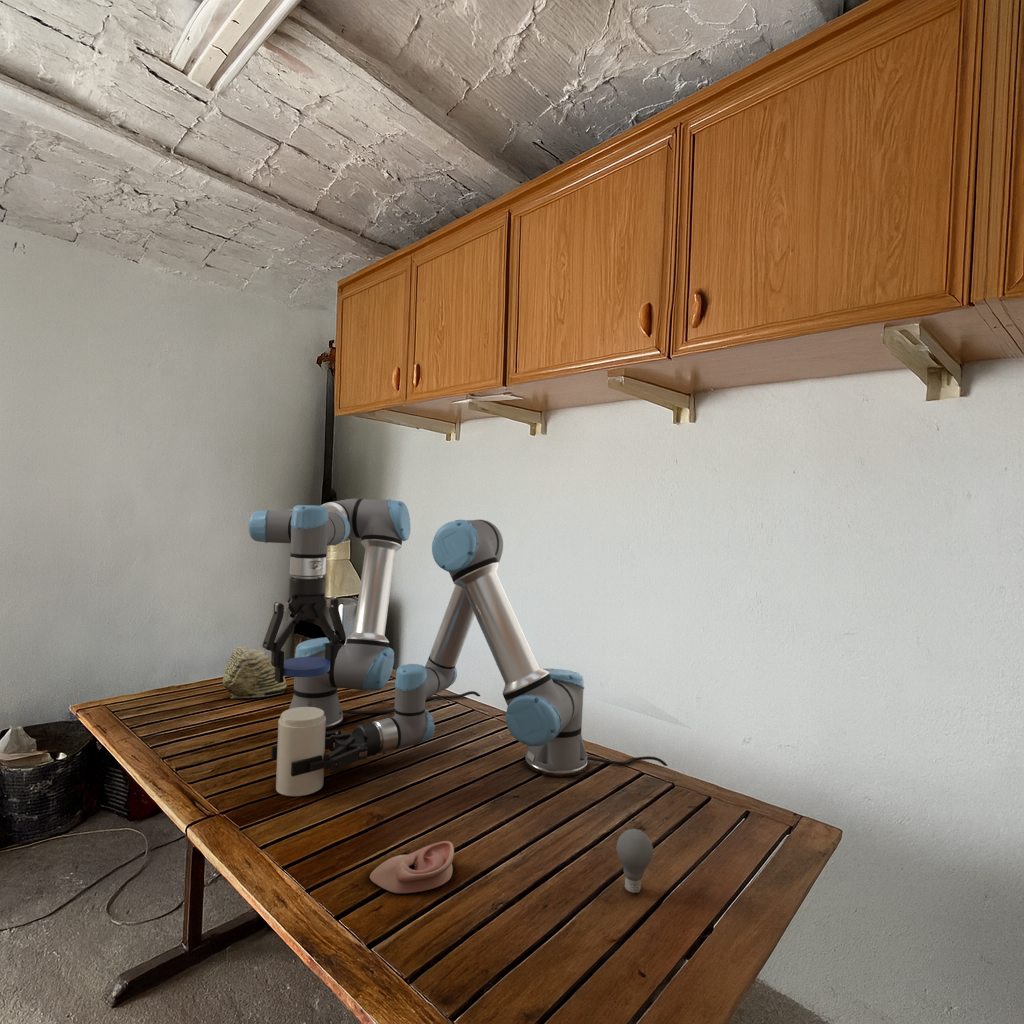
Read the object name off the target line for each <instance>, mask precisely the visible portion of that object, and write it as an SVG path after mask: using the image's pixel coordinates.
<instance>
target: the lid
mask: <svg viewBox="0 0 1024 1024" xmlns="http://www.w3.org/2000/svg"><path fill="white" fill-rule="evenodd" d="M329 671H330V661H329V660H327V659H325V658H320V657H297V658H295V657H291V658H287V659H284V675H283V676H284V677H291V678H294V677H312V676H318V675H322V674H325V673H327V672H329Z"/></svg>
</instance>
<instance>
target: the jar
mask: <svg viewBox="0 0 1024 1024" xmlns="http://www.w3.org/2000/svg"><path fill="white" fill-rule="evenodd" d="M326 732H327V730H326V717H325V716H324V711H323V710H321V709H319V708H315V707H297V708H292V709H289V708H288V709H285V710H284V711H282V712H281V713H280V716H279V719H278V721H277V743H276V745H277V759H276V769H275V770H276V771H275V773H276V775H275V790H276V791H275V792H277V793H278V794H280V795H283V796H287V797H302V796H308V795H311V794H314V793H316V792H318V791H320V790H322V788H323V787H324V784H325V783H324V781H325V780H324V779H325V769H323V768H322V769H319V770H316V771H312V772H308V773H304V774H301V775H297V776H293V777H292V776H291V763H292V762H296V761H300V760H304V759H308V758H312V757H316V756H320V755H321V756H322V759H324V753H326V750H325V734H326Z"/></svg>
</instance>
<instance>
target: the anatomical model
mask: <svg viewBox="0 0 1024 1024" xmlns="http://www.w3.org/2000/svg"><path fill="white" fill-rule="evenodd" d="M454 856H455V847H454V844H453V843H452V842H451V841H450V840H444V841H438V842H434V843H432V844H429V845H426V846H424V847H422V848H420V849H417V850H415V851H413V852H410V853H409V854H400V855H395V856H392V857H390V858H388V859H387V860H385V861H383V862H381V864H379V865H378V866H376V867H375V868H374V869H373V870H372V871H371V873H370V875H369V879H370V881H371V882H372V883H374V884H375V885H377V886H378V887H379V888H381V889H383V890H385V891H387V892H390V893H393V894H411V893H418V892H424V891H429V890H432V889H435V888H438V887H441V886H443V885H444V884H446V883H447V882H448V881H450V879H451V878H452V876H453V870H454V869H453V868H454V867H453V864H452V863H453V860H454V858H455V857H454Z"/></svg>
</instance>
